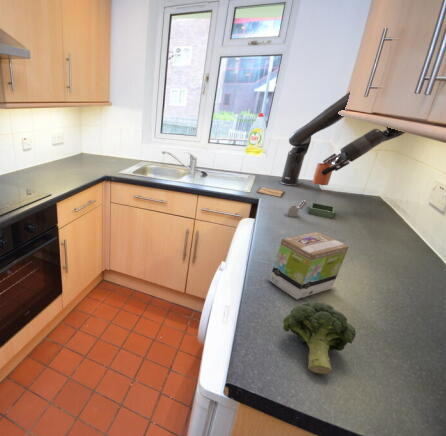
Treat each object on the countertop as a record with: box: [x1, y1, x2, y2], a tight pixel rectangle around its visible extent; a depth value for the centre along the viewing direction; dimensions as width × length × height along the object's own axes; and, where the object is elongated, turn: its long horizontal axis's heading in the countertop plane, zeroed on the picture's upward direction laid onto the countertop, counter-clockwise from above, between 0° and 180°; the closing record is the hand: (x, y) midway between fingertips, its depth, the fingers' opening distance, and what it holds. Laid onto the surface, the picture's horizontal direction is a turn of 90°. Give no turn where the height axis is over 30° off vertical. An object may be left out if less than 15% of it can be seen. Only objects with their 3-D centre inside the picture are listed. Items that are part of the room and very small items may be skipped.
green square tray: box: [308, 202, 336, 219], centre depth 144 cm, size 10×10×3 cm
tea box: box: [269, 231, 350, 300], centre depth 85 cm, size 15×10×15 cm
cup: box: [311, 162, 333, 186], centre depth 141 cm, size 7×7×9 cm
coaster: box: [257, 186, 284, 198], centre depth 173 cm, size 12×12×1 cm
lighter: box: [286, 199, 308, 218], centre depth 138 cm, size 7×2×8 cm, turn 85°
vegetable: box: [282, 301, 357, 375], centre depth 63 cm, size 12×13×15 cm
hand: (319, 171), depth 141 cm, fingers closed on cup, 6 cm apart
